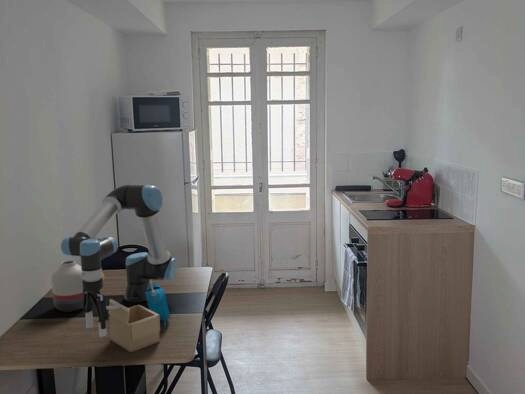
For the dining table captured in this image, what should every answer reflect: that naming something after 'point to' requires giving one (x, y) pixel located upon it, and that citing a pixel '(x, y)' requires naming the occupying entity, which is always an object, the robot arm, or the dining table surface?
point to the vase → (67, 287)
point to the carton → (136, 329)
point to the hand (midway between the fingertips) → (96, 331)
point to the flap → (118, 311)
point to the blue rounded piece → (157, 301)
